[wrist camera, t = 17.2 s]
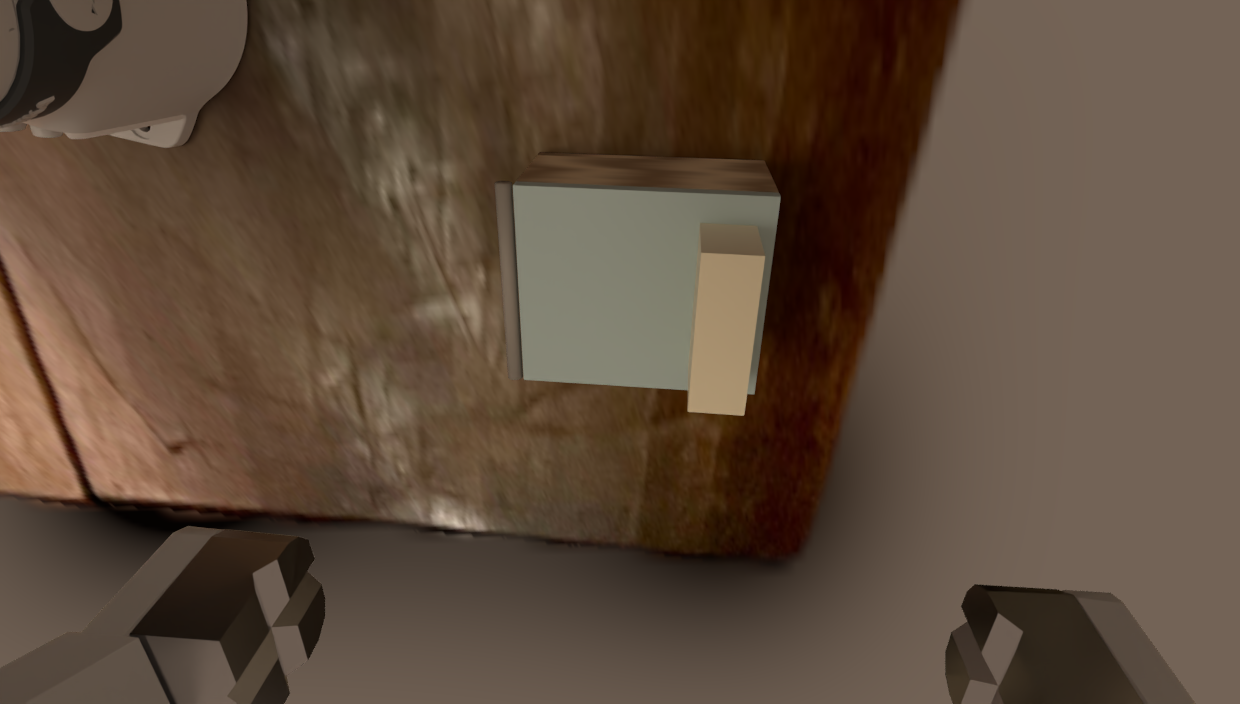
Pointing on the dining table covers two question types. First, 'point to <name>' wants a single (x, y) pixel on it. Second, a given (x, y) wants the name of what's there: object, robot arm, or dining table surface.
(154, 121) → the robot arm
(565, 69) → the dining table surface
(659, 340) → the lid
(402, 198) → the dining table surface
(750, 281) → the tan rectangular block
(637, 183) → the crate
